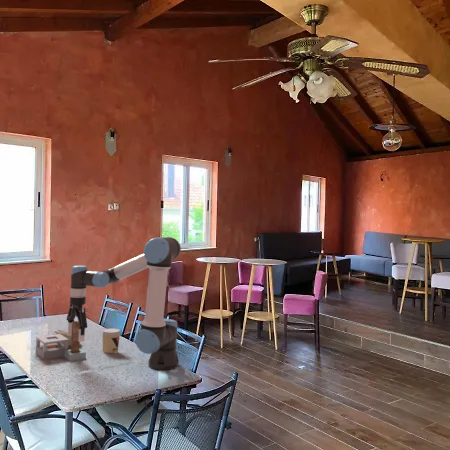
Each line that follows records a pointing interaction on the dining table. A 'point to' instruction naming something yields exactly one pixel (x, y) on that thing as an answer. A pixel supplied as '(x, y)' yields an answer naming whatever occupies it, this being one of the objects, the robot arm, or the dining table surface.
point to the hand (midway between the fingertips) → (75, 338)
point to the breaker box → (53, 352)
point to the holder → (74, 355)
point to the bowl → (64, 336)
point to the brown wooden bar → (75, 337)
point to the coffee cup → (111, 340)
